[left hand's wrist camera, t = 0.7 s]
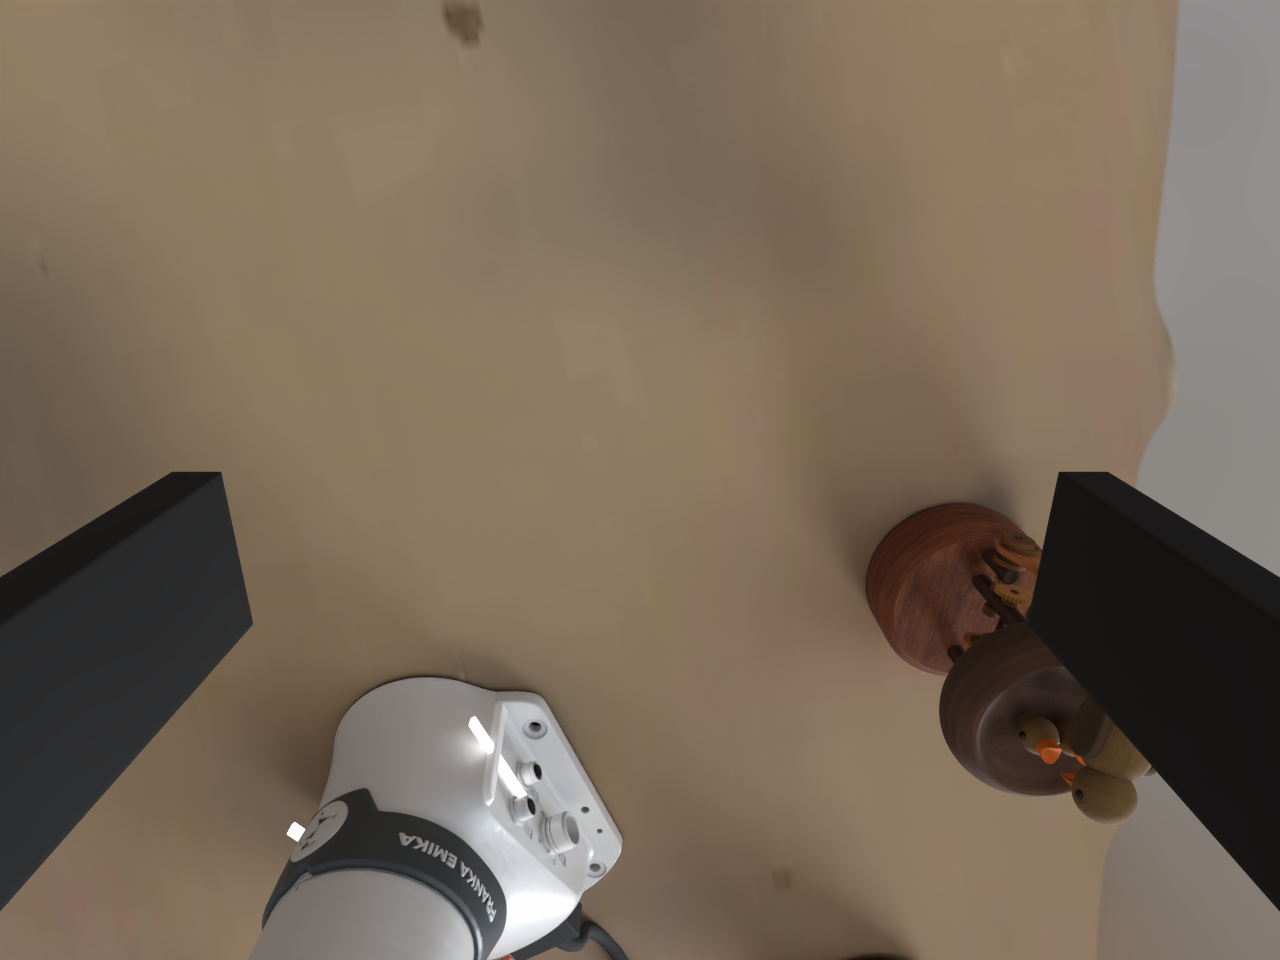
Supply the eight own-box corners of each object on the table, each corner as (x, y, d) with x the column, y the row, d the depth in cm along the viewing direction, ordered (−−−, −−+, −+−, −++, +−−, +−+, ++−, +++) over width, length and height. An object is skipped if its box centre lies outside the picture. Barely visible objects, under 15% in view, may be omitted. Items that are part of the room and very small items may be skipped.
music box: (870, 478, 46) (1071, 674, 28) (1042, 474, 47) (1349, 661, 29) (843, 689, 52) (997, 970, 33) (999, 682, 53) (1233, 952, 34)
